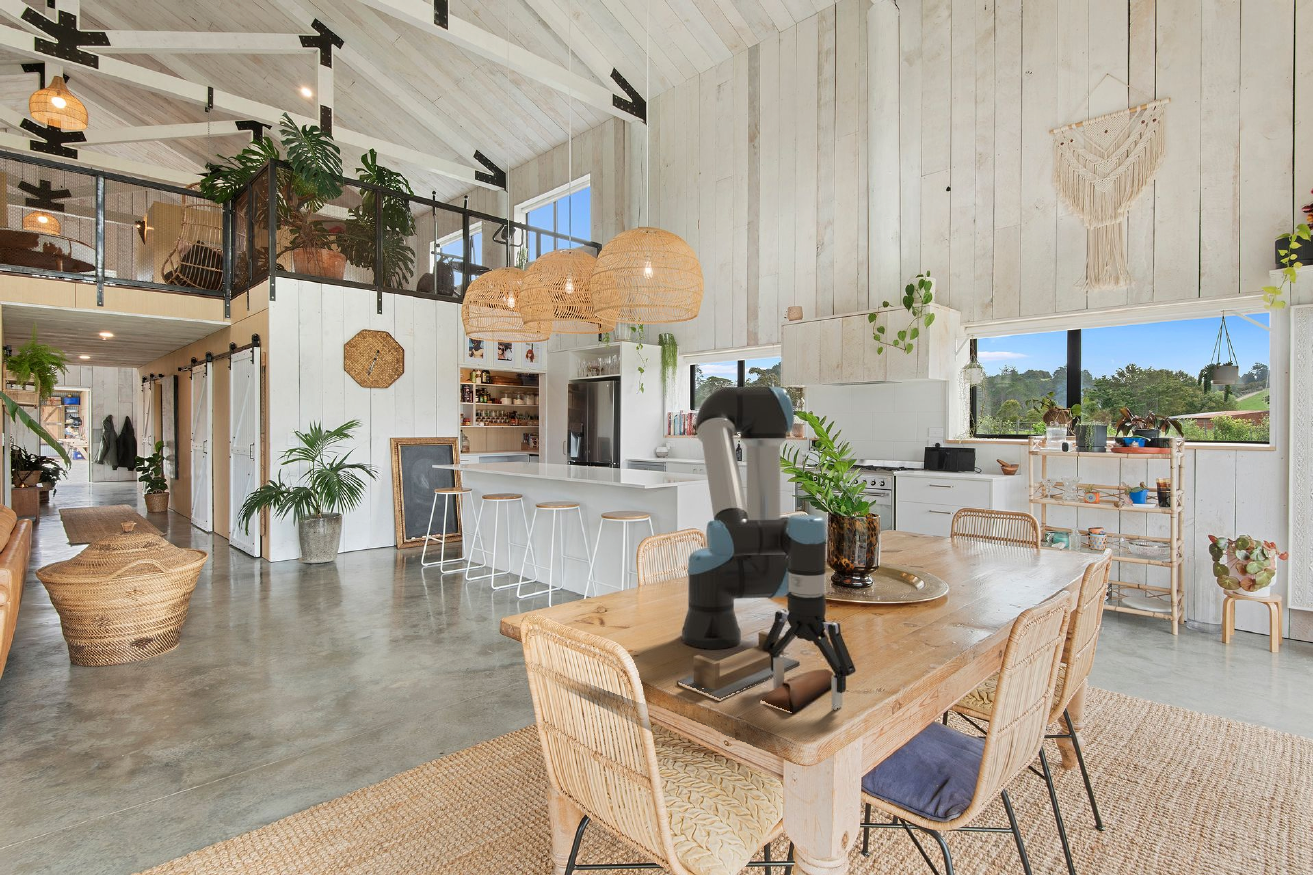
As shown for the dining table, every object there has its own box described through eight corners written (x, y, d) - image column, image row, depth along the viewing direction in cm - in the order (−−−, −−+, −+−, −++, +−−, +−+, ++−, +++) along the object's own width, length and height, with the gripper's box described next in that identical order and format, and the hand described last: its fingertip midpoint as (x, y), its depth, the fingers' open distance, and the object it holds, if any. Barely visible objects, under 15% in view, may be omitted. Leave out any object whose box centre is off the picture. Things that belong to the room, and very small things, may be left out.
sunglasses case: (799, 675, 145) (813, 653, 142) (825, 699, 141) (839, 676, 139) (755, 703, 131) (770, 679, 129) (782, 730, 127) (798, 705, 125)
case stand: (676, 684, 140) (676, 655, 140) (757, 652, 160) (757, 626, 160) (719, 701, 132) (719, 670, 132) (799, 665, 151) (799, 637, 151)
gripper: (745, 585, 139) (746, 685, 140) (853, 608, 121) (853, 722, 122) (767, 579, 144) (767, 675, 145) (873, 600, 126) (873, 710, 127)
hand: (806, 697), depth 133 cm, fingers open, 13 cm apart
